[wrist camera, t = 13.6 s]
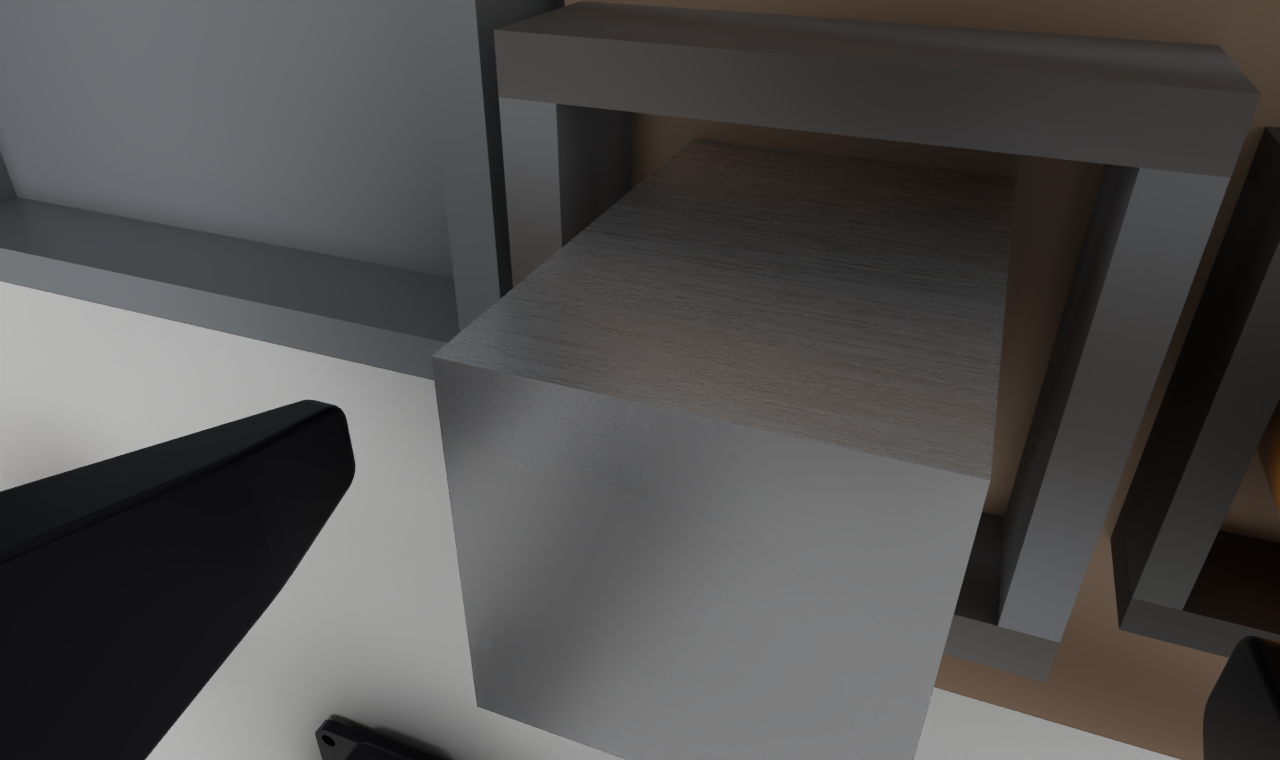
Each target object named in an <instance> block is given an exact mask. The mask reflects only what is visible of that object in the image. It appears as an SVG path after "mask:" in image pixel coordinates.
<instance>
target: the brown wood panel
mask: <svg viewBox="0 0 1280 760" xmlns="http://www.w3.org/2000/svg"><path fill="white" fill-rule="evenodd" d="M564 1H565V6H564V7H561V8H558V9H555V10H552V11H549V12H546V13H543V14H540V15H537V16H534V17H531V18H528V19H525V20H522V21H519V22H516V23H513V24H510V25H507V26H504V27H501V28H498V29H495V30H494V41H495V55H496V68H497V81H498V95H499V108H500V121H501V135H502V148H503V161H504V174H505V188H506V201H507V214H508V228H509V241H510V254H511V268H512V281H513V288H514V287H515V286H516V285H518V284H519V283H520V282H521V281H522V280H524V279H525V278H526V277H527V276H528V275H530V274H531V273H532V272H533V271H535V270H536V269H537V268H538V267H539V266H541V265H542V264H543V263H544V262H545V261H547V260H548V259H549V258H550V257H551V256H553V255H554V254H555V253H556V252H557V251H559V250H560V249H561V248H562V247H563V246H565V245H566V244H567V243H568V242H569V241H571V240H572V239H573V238H574V237H575V236H577V235H578V234H579V233H580V232H581V231H583V230H584V229H585V228H586V227H587V226H589V225H590V224H591V223H592V222H593V221H595V220H596V219H597V218H598V217H599V216H601V215H602V214H603V213H604V212H605V211H607V210H608V209H609V208H610V207H611V206H613V205H614V204H615V203H616V202H617V201H619V200H620V199H621V198H622V197H623V196H625V195H626V194H627V193H628V192H629V191H631V190H632V189H633V188H634V187H635V186H637V185H638V184H639V183H640V182H641V181H643V180H644V179H645V178H646V177H647V176H649V175H650V174H651V173H652V172H653V171H655V170H656V169H657V168H658V167H659V166H661V165H662V164H663V163H664V162H665V161H667V160H668V159H669V158H670V157H671V156H673V155H674V154H675V153H676V152H677V151H679V150H680V149H681V148H682V147H683V146H685V145H686V144H687V143H688V142H689V141H691V140H692V139H693V138H695V139H703V140H711V141H720V142H728V143H736V144H744V145H753V146H761V147H769V148H778V149H786V150H794V151H803V152H811V153H819V154H827V155H836V156H844V157H852V158H861V159H869V160H877V161H886V162H894V163H902V164H911V165H919V166H927V167H935V168H944V169H952V170H960V171H969V172H977V173H985V174H994V175H1002V176H1010V177H1016V181H1015V193H1014V205H1013V217H1012V229H1011V241H1010V253H1009V265H1008V277H1007V289H1006V301H1005V313H1004V325H1003V337H1002V348H1001V360H1000V372H999V384H998V396H997V408H996V420H995V432H994V444H993V456H992V468H991V480H990V484H989V488H988V491H987V495H986V499H985V502H984V506H983V510H982V513H981V517H980V520H979V524H978V528H977V531H976V535H975V539H974V542H973V546H972V550H971V553H970V557H969V560H968V564H967V568H966V571H965V575H964V579H963V582H962V586H961V589H960V593H959V597H958V600H957V604H956V608H955V611H954V615H953V619H952V622H951V626H950V629H949V633H948V637H947V640H946V644H945V648H944V651H943V655H942V659H941V662H940V666H939V669H938V673H937V677H936V680H935V684H934V687H936V688H939V689H943V690H946V691H950V692H953V693H956V694H960V695H963V696H967V697H970V698H973V699H977V700H980V701H984V702H987V703H990V704H994V705H997V706H1001V707H1004V708H1007V709H1011V710H1014V711H1018V712H1021V713H1025V714H1028V715H1031V716H1035V717H1038V718H1042V719H1045V720H1048V721H1052V722H1055V723H1059V724H1062V725H1065V726H1069V727H1072V728H1076V729H1079V730H1082V731H1086V732H1089V733H1093V734H1096V735H1099V736H1103V737H1106V738H1110V739H1113V740H1116V741H1120V742H1123V743H1127V744H1130V745H1133V746H1137V747H1140V748H1144V749H1147V750H1150V751H1154V752H1157V753H1161V754H1164V755H1167V756H1171V757H1174V758H1178V759H1181V760H1203V716H1204V711H1205V706H1206V703H1207V700H1208V698H1209V695H1210V694H1211V692H1212V690H1213V688H1214V686H1215V684H1216V682H1217V680H1218V678H1219V676H1220V674H1221V672H1222V671H1223V669H1224V667H1225V665H1226V663H1227V661H1228V659H1229V657H1230V655H1231V653H1232V651H1233V649H1234V648H1235V646H1236V644H1237V643H1238V642H1239V641H1240V640H1241V639H1242V638H1244V637H1247V636H1258V637H1262V638H1266V639H1270V640H1274V641H1278V642H1280V515H1279V512H1278V509H1277V506H1276V503H1275V500H1274V498H1273V495H1272V492H1271V489H1270V486H1269V483H1268V481H1267V478H1266V475H1265V472H1264V469H1263V466H1262V464H1261V461H1260V458H1259V455H1258V452H1257V446H1258V444H1259V442H1260V440H1261V438H1262V436H1263V433H1264V431H1265V429H1266V427H1267V425H1268V422H1269V420H1270V418H1271V416H1272V414H1273V412H1274V409H1275V407H1276V405H1277V403H1278V401H1279V399H1280V0H564Z"/></svg>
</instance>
